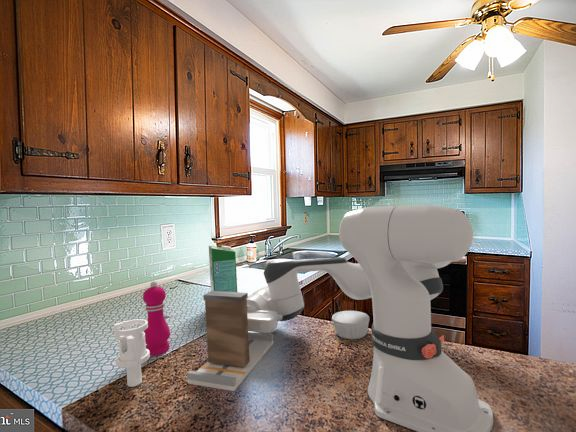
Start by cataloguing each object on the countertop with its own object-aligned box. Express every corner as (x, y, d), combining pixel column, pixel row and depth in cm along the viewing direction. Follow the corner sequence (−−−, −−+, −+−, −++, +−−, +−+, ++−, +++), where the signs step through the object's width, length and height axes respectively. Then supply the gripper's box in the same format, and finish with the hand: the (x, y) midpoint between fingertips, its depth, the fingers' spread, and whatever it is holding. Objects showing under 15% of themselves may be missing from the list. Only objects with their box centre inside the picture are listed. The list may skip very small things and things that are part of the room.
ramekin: (326, 330, 98) (325, 313, 98) (356, 323, 102) (355, 308, 102) (344, 344, 88) (344, 326, 88) (377, 336, 92) (376, 319, 92)
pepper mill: (161, 357, 85) (157, 284, 84) (138, 355, 86) (133, 284, 85) (176, 345, 92) (172, 278, 91) (154, 344, 93) (150, 278, 92)
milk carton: (238, 308, 122) (235, 245, 121) (215, 312, 119) (211, 247, 118) (233, 302, 130) (230, 243, 129) (211, 305, 127) (208, 245, 126)
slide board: (236, 339, 94) (236, 331, 94) (273, 343, 90) (273, 334, 90) (187, 383, 71) (187, 372, 71) (234, 391, 68) (233, 380, 67)
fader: (214, 355, 81) (211, 290, 80) (250, 360, 78) (247, 292, 77) (206, 362, 77) (203, 294, 77) (244, 368, 74) (241, 297, 74)
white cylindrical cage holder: (113, 383, 73) (109, 320, 72) (144, 371, 78) (141, 312, 77) (123, 396, 68) (119, 328, 67) (155, 382, 72) (152, 319, 72)
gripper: (285, 325, 89) (267, 347, 76) (222, 320, 95) (195, 339, 82) (284, 303, 89) (265, 322, 76) (221, 300, 95) (194, 316, 82)
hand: (228, 331), depth 79 cm, fingers closed
